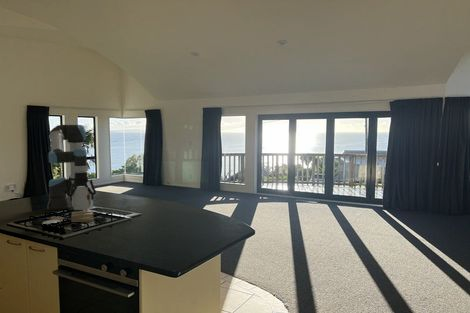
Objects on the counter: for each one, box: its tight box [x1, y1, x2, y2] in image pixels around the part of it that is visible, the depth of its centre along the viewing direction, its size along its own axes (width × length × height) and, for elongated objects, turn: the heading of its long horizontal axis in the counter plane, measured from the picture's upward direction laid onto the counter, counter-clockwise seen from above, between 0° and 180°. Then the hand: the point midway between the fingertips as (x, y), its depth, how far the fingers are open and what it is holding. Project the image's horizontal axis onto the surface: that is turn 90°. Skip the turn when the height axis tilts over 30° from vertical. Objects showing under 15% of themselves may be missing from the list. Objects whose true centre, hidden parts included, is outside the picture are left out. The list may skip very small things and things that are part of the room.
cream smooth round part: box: [42, 219, 61, 225], centre depth 216 cm, size 10×10×1 cm
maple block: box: [70, 209, 94, 223], centre depth 224 cm, size 13×13×5 cm
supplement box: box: [72, 185, 94, 211], centre depth 226 cm, size 9×9×15 cm
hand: (82, 205), depth 224 cm, fingers closed on supplement box, 10 cm apart
